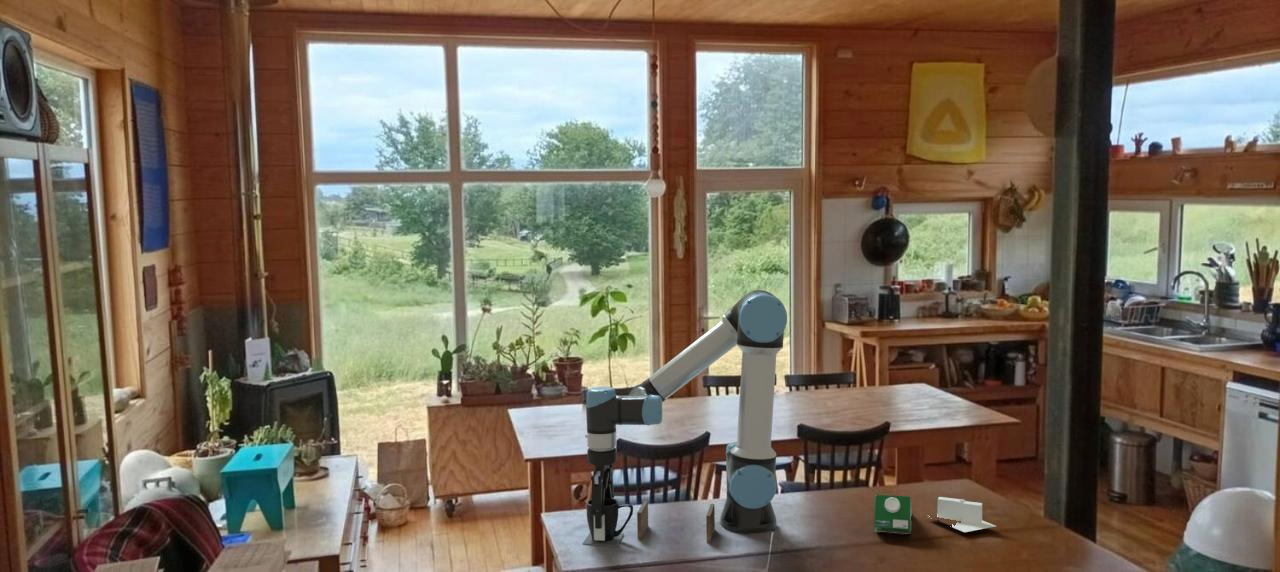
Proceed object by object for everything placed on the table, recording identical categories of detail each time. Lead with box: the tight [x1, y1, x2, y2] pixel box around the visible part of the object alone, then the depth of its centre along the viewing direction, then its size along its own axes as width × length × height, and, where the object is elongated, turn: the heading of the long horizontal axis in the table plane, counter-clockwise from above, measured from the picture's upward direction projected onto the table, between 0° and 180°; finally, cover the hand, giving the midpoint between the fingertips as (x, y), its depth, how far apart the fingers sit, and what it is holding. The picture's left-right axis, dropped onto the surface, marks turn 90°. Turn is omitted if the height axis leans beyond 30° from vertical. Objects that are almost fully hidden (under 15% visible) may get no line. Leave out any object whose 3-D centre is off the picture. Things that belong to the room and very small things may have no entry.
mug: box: [586, 498, 634, 542], centre depth 235 cm, size 8×12×10 cm
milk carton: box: [873, 494, 913, 534], centre depth 249 cm, size 9×9×25 cm
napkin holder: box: [928, 496, 996, 533], centre depth 248 cm, size 15×11×6 cm
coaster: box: [582, 532, 625, 548], centre depth 236 cm, size 9×9×1 cm
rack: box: [636, 500, 716, 544], centre depth 240 cm, size 19×10×7 cm, turn 79°
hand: (603, 533), depth 236 cm, fingers open, 8 cm apart
